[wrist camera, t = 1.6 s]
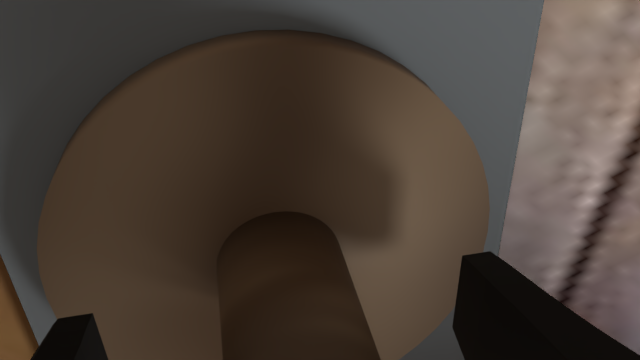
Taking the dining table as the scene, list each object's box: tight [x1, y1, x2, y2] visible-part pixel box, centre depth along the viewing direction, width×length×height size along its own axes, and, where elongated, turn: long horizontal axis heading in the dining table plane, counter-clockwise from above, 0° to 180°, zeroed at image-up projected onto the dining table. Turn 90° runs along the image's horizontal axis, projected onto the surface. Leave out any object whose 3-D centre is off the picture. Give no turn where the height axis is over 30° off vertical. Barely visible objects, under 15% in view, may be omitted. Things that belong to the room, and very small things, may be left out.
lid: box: [37, 30, 490, 360], centre depth 12 cm, size 10×10×5 cm
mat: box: [0, 0, 544, 360], centre depth 14 cm, size 12×12×1 cm
